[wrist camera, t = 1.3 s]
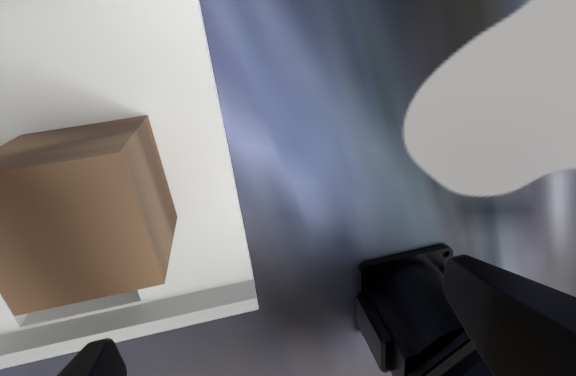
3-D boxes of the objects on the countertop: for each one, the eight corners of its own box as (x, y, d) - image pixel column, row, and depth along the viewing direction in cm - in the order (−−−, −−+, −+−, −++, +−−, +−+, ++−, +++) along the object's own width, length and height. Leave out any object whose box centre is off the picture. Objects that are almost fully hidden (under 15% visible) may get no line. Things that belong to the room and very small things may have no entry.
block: (148, 115, 15) (119, 152, 10) (177, 216, 17) (164, 284, 12) (21, 134, 14) (-68, 183, 10) (68, 237, 16) (14, 316, 12)
